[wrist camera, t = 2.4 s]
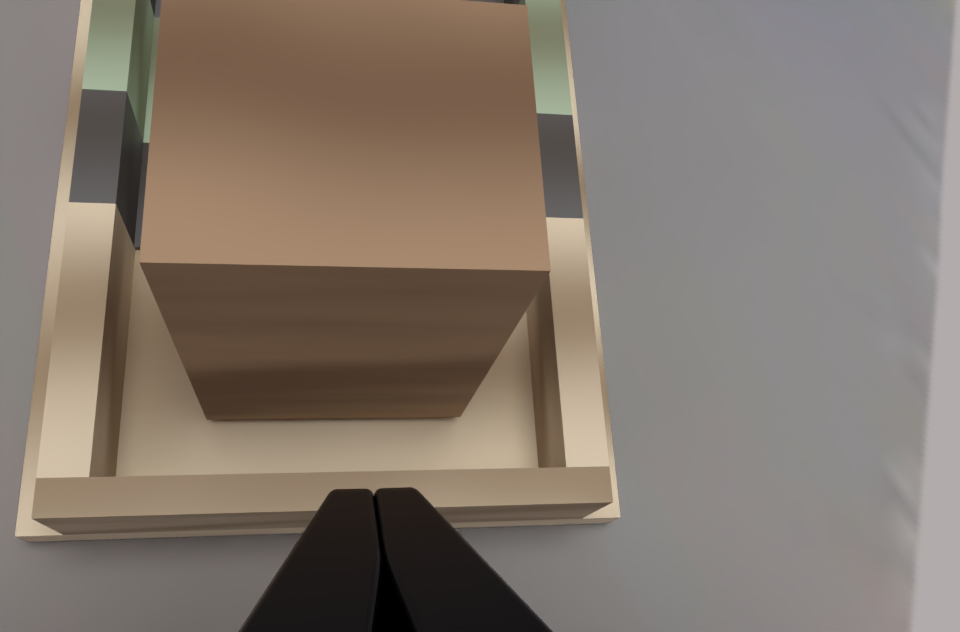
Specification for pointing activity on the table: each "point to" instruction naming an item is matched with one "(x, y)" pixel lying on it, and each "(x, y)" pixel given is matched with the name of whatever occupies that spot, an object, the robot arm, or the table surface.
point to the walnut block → (342, 201)
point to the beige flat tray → (288, 442)
